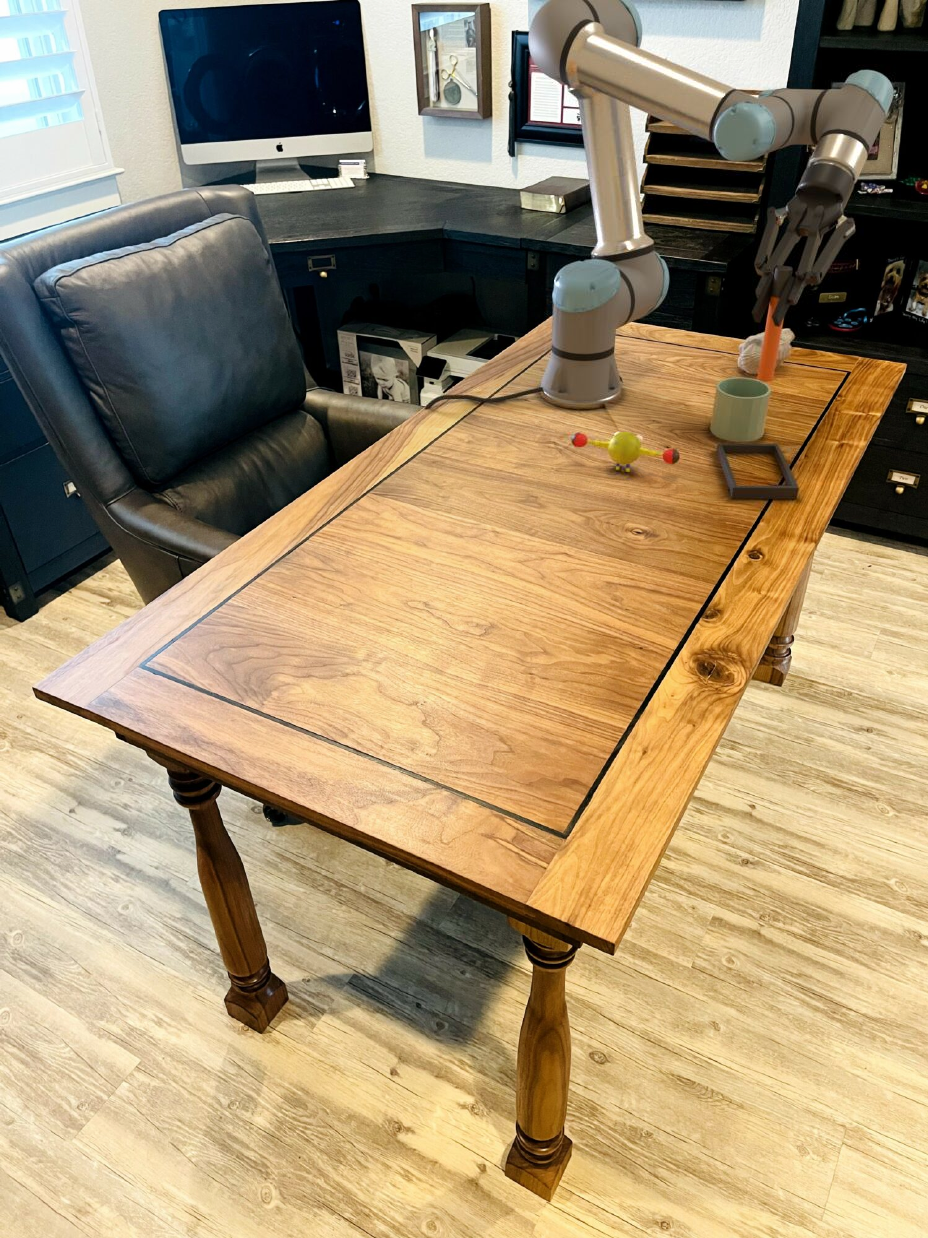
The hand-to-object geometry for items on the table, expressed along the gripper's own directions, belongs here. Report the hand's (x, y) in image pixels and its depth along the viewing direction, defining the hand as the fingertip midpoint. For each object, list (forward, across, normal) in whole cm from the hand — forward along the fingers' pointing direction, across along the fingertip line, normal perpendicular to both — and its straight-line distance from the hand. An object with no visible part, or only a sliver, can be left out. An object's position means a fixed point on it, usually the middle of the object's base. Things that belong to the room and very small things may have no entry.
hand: (765, 319), depth 141 cm
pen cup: (+9, +7, -27) cm, 29 cm away
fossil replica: (-13, +15, -48) cm, 52 cm away
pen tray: (+18, -2, -18) cm, 25 cm away
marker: (+5, 0, -10) cm, 11 cm away
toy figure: (+25, +16, -10) cm, 32 cm away
